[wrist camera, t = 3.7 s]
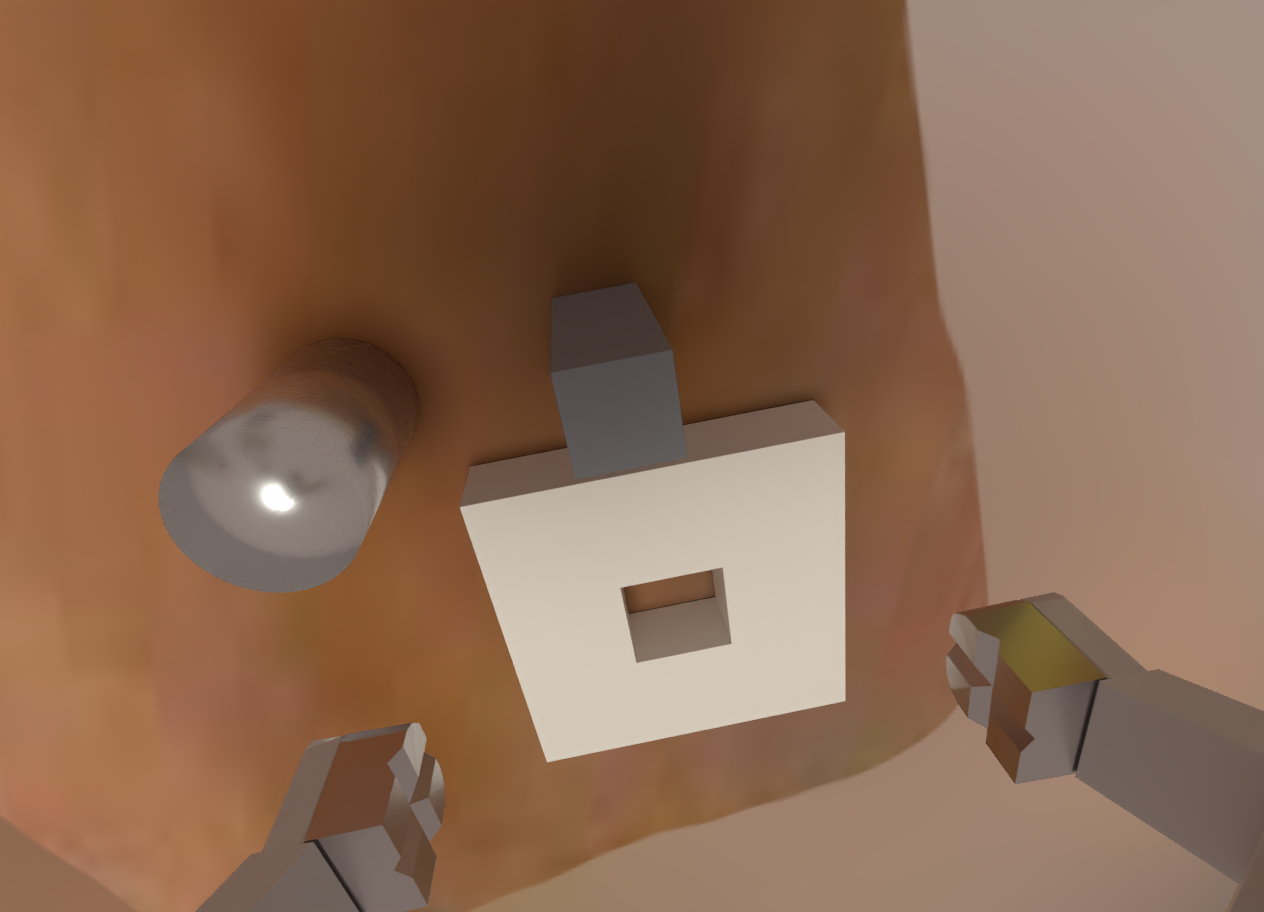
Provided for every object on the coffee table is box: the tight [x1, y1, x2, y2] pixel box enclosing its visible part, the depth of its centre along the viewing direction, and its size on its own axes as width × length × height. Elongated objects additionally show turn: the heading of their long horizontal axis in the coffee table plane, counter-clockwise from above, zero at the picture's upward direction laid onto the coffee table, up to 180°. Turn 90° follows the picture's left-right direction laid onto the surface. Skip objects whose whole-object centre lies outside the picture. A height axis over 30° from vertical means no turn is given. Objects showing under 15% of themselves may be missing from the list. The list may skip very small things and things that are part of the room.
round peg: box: [159, 338, 419, 592], centre depth 23 cm, size 6×6×9 cm
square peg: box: [550, 282, 687, 480], centre depth 23 cm, size 4×4×9 cm
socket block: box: [460, 400, 845, 762], centre depth 31 cm, size 16×16×4 cm
